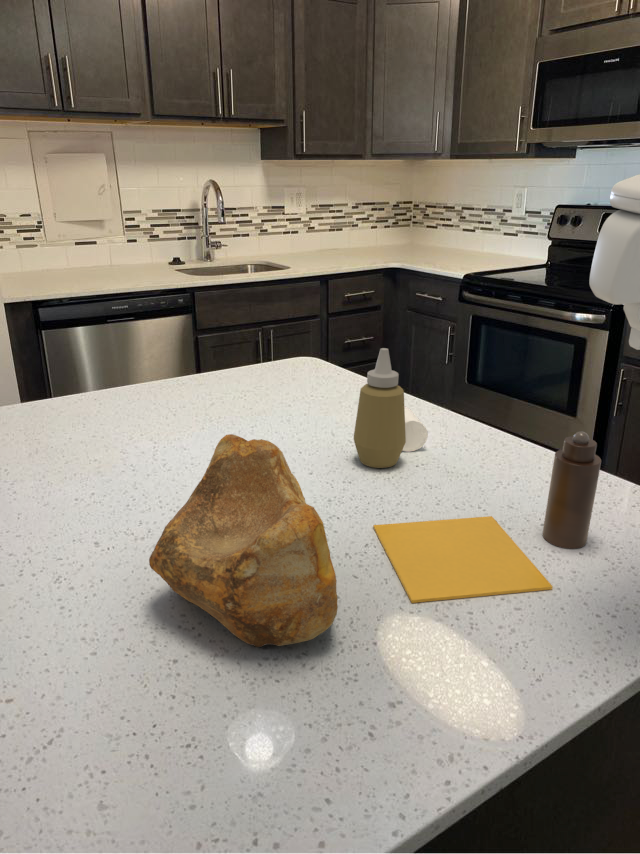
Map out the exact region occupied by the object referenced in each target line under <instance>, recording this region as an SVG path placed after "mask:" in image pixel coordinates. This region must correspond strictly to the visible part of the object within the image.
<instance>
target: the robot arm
mask: <svg viewBox="0 0 640 854" xmlns="http://www.w3.org/2000/svg"><path fill="white" fill-rule="evenodd" d="M609 205H610V206H611V207H612V208H614V209H618V210H616V211H614V212H612V213H611V214H610V215H609V216H608V217H607V218H606V219H605V221H604V222H603V224H602V226H601V229H600V231H599V234H598V238H597V241H596V244H595V249H594V253H593V257H592V262H591V268H590V272H589V280H588V281H589V283H588V284H589V287H590V289H591V291H592V293H593V295H594V296H595V297H596V298H598V299H599V300H602V301H605V302H607V303H609V304H612V305H623V308H622V309H623V312H624V314H625V317H626V319H627V321H628V324H629V326H630V333H629V337H628V345H629V347H630V348H633V349H635V350H637V351H640V173H638V174H636V175H634V176H631V177H628V178H624V179H623V180H620V181H618V182H616V183H615V184H613V186H612V188H611V190H610V196H609Z"/></svg>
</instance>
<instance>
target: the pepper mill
mask: <svg viewBox="0 0 640 854" xmlns="http://www.w3.org/2000/svg"><path fill="white" fill-rule="evenodd" d="M562 445H563V446H562V449H559V450H557V451H556V452H554V456H553V463H552V465H553V466H552V471H551V476H550V482H549V490H548V497H547V502H546V508H545V514H544V515H545V516H544V522H543V526H542V527H543V528H542V534H541V535H542V537H543V539H544V540H545V541H546V542H547V543H549V544H550V545H552V546H556V547H558V548H562V549H567V550H575V549H580V548H583V547H585V546H586V544H587V543H588V537H589V531H590V526H591V521H592V520H591V519H592V515H593V509H594V503H595V498H596V493H597V487H598V482H599V475H600V471H601V465H602V459H601V457H600V456H599V455H598V454H596V452H597V447H598V443H597V442H596V440H594V439H592V438H590V435H588V433H587V432H585V431H583V430H582V431H580V430H579V431H576V432H575V433H574V434H573V435H570V436H566V437H565V438H564V440H563V444H562Z"/></svg>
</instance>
